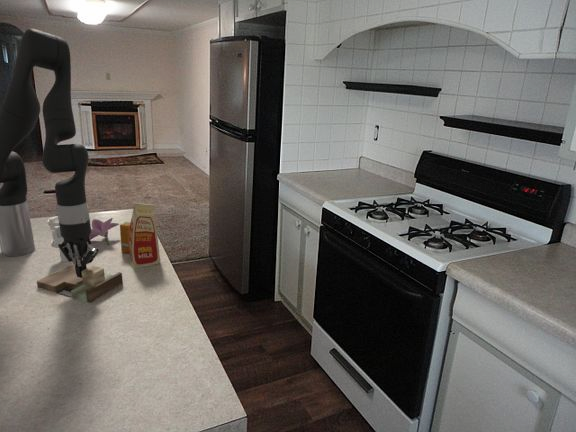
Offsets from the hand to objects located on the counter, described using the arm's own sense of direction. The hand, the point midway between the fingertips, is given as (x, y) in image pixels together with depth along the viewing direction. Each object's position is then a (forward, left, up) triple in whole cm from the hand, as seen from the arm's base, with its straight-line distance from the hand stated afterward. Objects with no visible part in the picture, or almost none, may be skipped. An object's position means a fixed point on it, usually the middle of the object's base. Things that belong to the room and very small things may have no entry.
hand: (82, 276), depth 120 cm
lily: (-20, +28, -4) cm, 35 cm away
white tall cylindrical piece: (-19, +11, -3) cm, 22 cm away
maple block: (+4, 0, -1) cm, 4 cm away
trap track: (-1, 0, -3) cm, 3 cm away
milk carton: (+4, +22, -3) cm, 23 cm away
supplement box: (-6, +25, -3) cm, 26 cm away
